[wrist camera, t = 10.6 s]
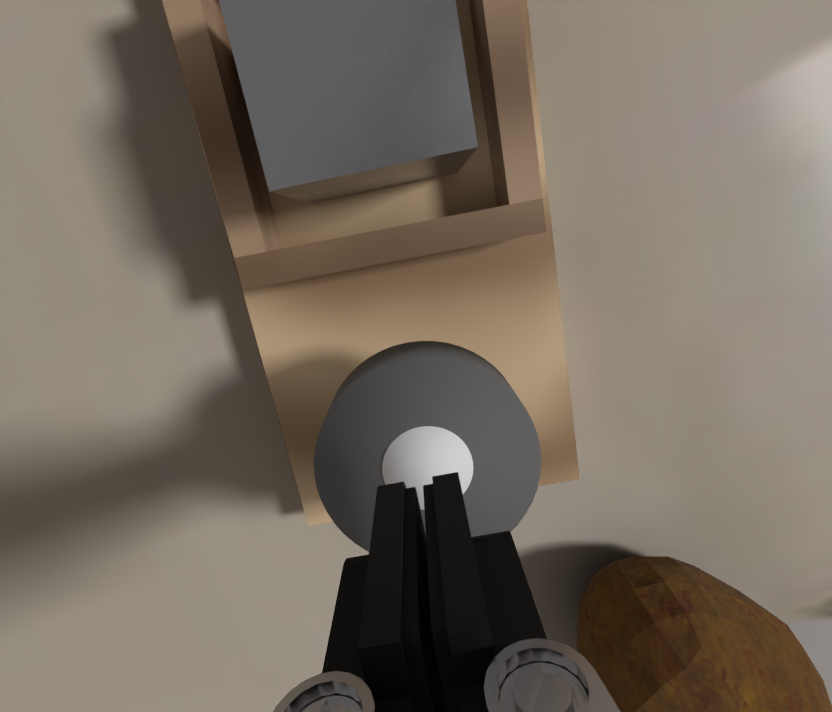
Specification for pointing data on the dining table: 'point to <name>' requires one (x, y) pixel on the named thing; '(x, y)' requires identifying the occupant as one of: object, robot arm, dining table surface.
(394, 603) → the robot arm
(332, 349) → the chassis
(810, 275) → the dining table surface
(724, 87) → the dining table surface
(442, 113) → the grey stone cube
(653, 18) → the dining table surface
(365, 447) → the wheel
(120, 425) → the dining table surface
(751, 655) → the potato
